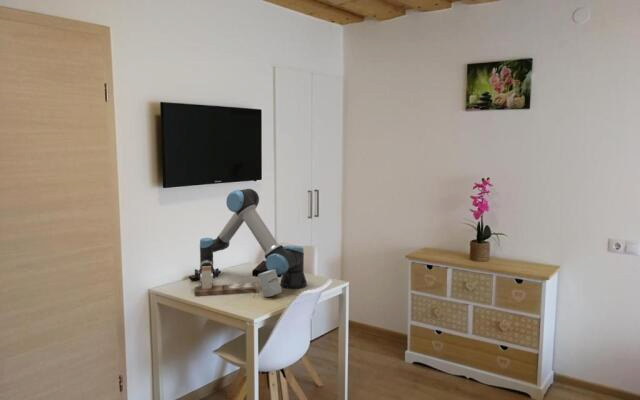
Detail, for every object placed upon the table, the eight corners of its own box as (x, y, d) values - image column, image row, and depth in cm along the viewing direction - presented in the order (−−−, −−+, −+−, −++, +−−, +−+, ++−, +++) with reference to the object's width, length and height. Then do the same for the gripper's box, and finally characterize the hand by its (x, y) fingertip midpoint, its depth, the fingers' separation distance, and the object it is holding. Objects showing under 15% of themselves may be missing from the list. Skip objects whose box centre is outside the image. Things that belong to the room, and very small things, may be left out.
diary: (251, 277, 314) (251, 269, 313) (261, 267, 338) (261, 260, 338) (281, 278, 311) (281, 270, 311) (289, 268, 336) (289, 260, 335)
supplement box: (271, 296, 266) (264, 273, 266) (263, 297, 272) (257, 274, 272) (282, 291, 271) (275, 269, 271) (274, 292, 277) (268, 270, 277)
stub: (211, 287, 280) (211, 265, 279) (211, 288, 278) (211, 267, 276) (202, 287, 279) (201, 266, 277) (202, 289, 276) (201, 267, 275)
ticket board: (255, 287, 289) (255, 282, 289) (256, 292, 279) (256, 287, 279) (195, 291, 282) (195, 285, 282) (195, 296, 272) (194, 290, 272)
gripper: (222, 273, 297) (223, 284, 275) (190, 275, 293) (189, 286, 271) (222, 261, 296) (223, 271, 274) (190, 262, 293) (189, 272, 270)
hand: (206, 278), depth 272 cm, fingers closed on stub, 5 cm apart
